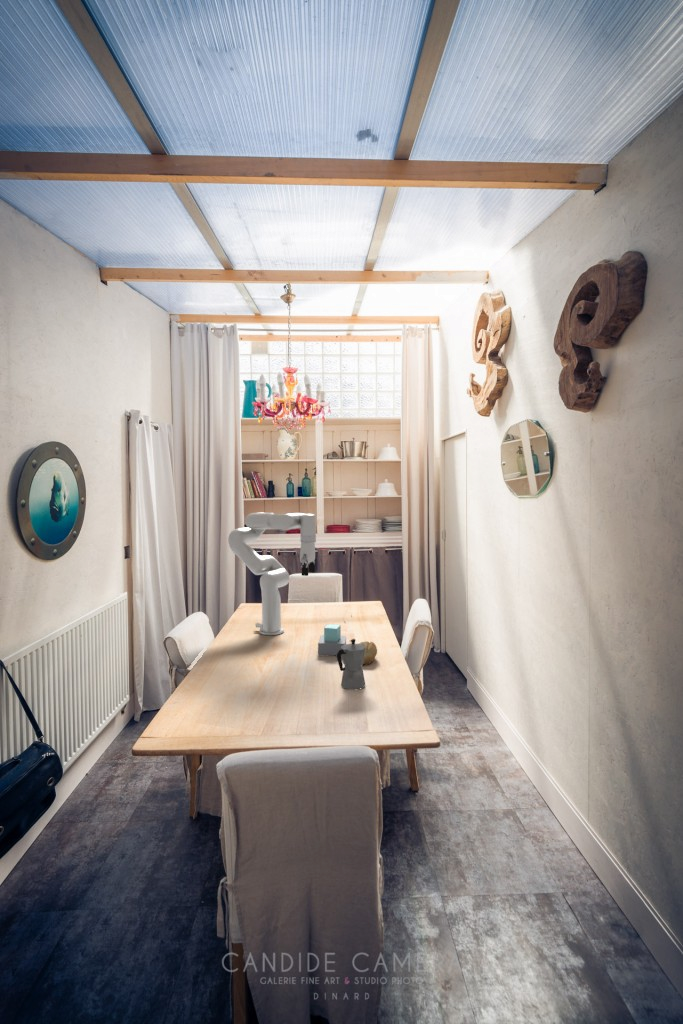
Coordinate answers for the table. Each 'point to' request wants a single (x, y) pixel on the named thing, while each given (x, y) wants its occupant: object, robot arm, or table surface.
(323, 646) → the gray block
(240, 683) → the table surface
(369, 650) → the bread roll
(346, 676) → the coffeepot
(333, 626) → the teal cube
